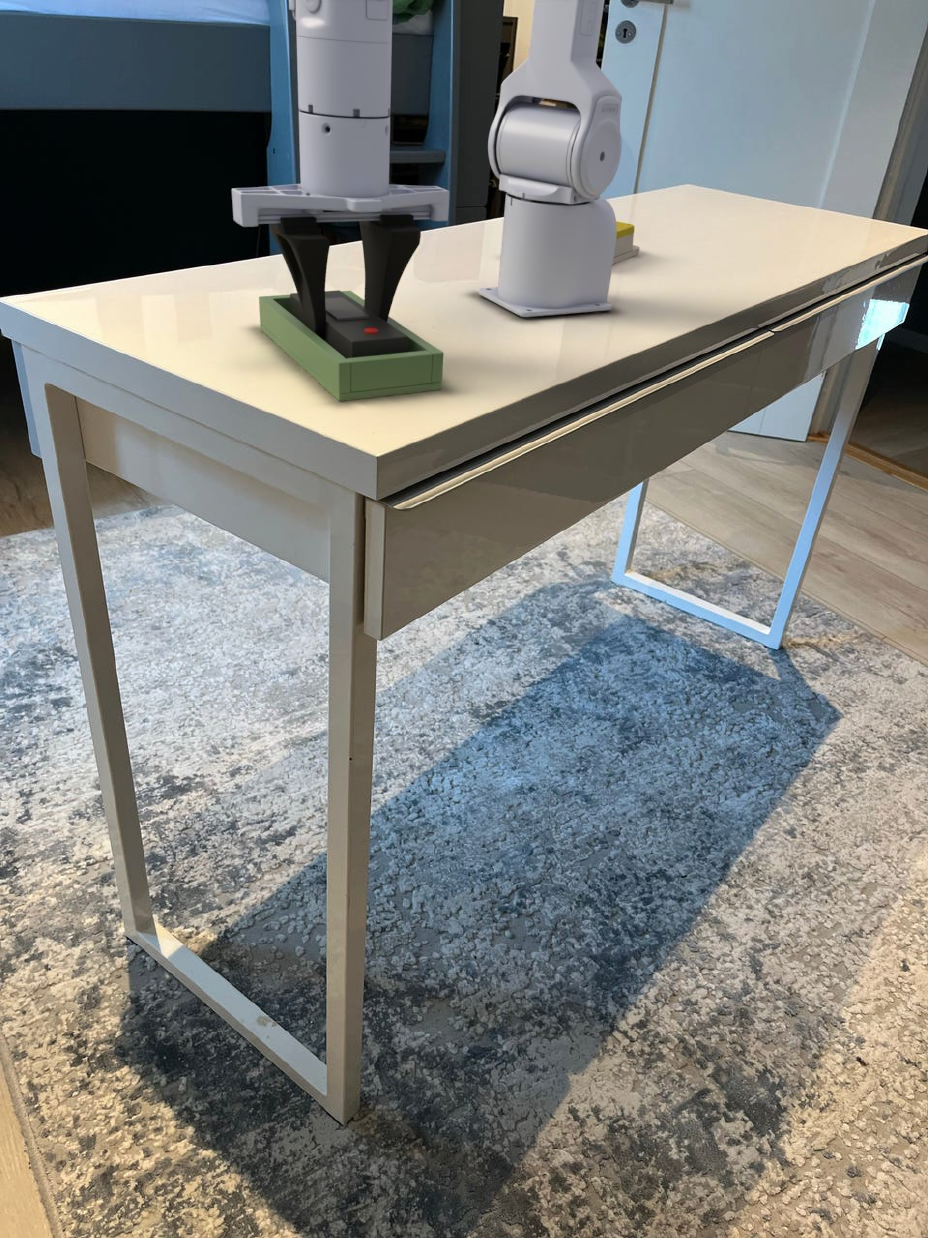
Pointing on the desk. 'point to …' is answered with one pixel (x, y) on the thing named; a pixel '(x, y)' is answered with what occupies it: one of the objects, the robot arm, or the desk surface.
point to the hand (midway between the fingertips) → (345, 330)
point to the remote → (354, 327)
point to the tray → (352, 374)
